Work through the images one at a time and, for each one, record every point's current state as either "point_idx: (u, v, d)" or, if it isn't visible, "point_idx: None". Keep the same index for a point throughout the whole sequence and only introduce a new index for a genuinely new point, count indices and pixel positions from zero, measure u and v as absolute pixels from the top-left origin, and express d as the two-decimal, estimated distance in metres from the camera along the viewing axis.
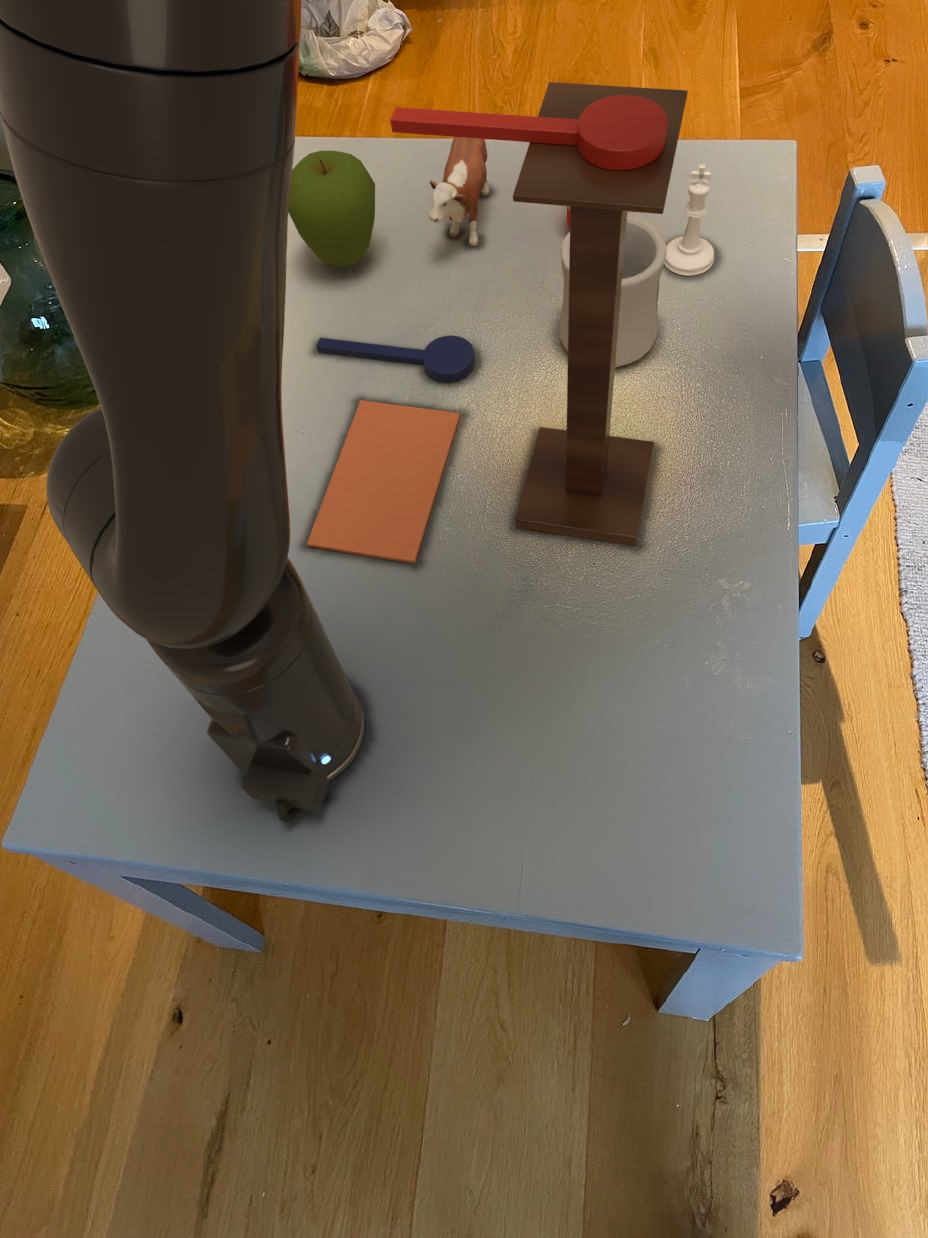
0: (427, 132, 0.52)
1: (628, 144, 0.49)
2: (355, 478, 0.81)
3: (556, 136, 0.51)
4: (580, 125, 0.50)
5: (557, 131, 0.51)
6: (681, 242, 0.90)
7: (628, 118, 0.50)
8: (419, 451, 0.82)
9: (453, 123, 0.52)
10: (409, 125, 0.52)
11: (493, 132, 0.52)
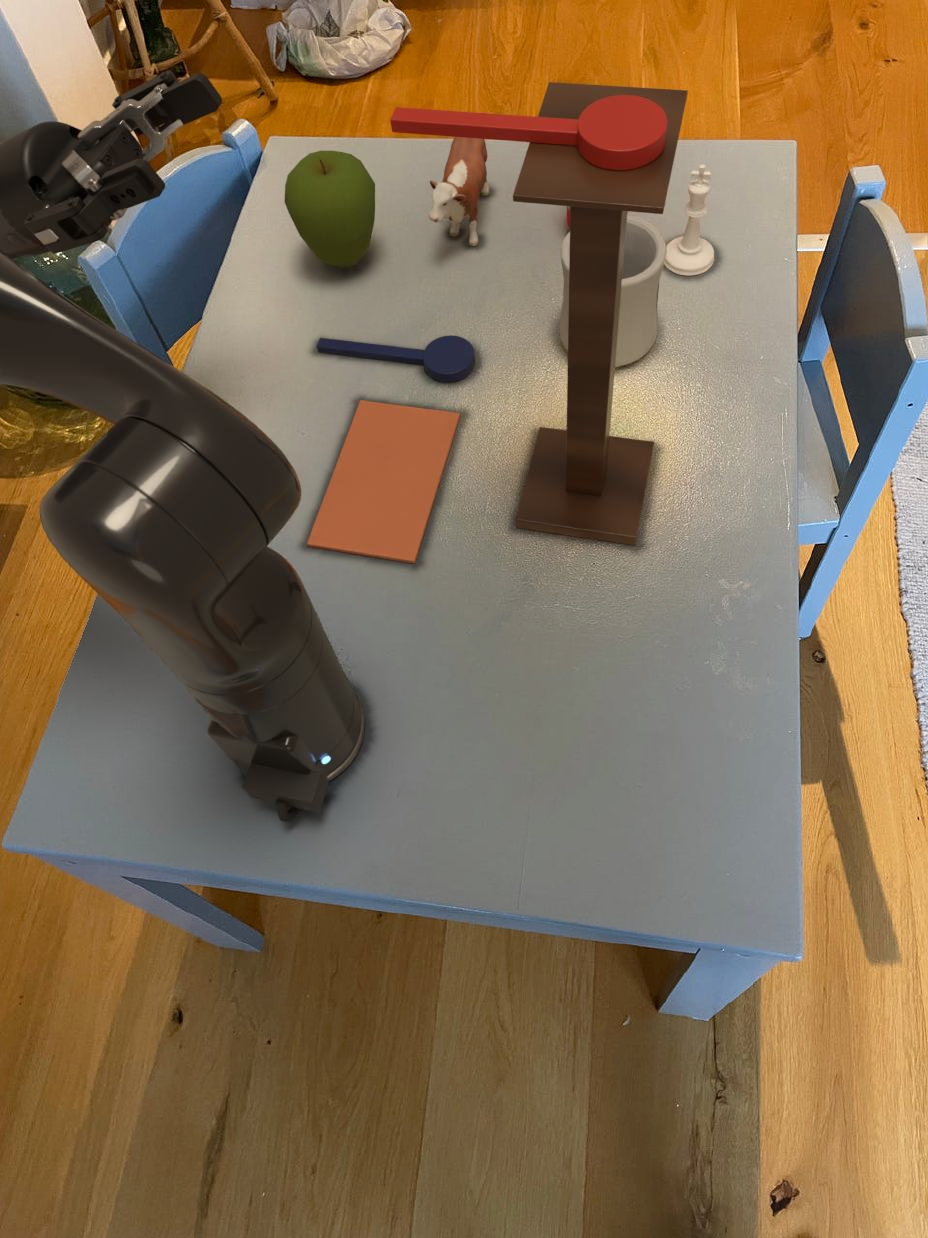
0: (427, 132, 0.52)
1: (628, 144, 0.49)
2: (355, 478, 0.81)
3: (556, 136, 0.51)
4: (580, 125, 0.50)
5: (557, 131, 0.51)
6: (681, 242, 0.90)
7: (628, 118, 0.50)
8: (419, 451, 0.82)
9: (453, 123, 0.52)
10: (409, 125, 0.52)
11: (493, 132, 0.52)
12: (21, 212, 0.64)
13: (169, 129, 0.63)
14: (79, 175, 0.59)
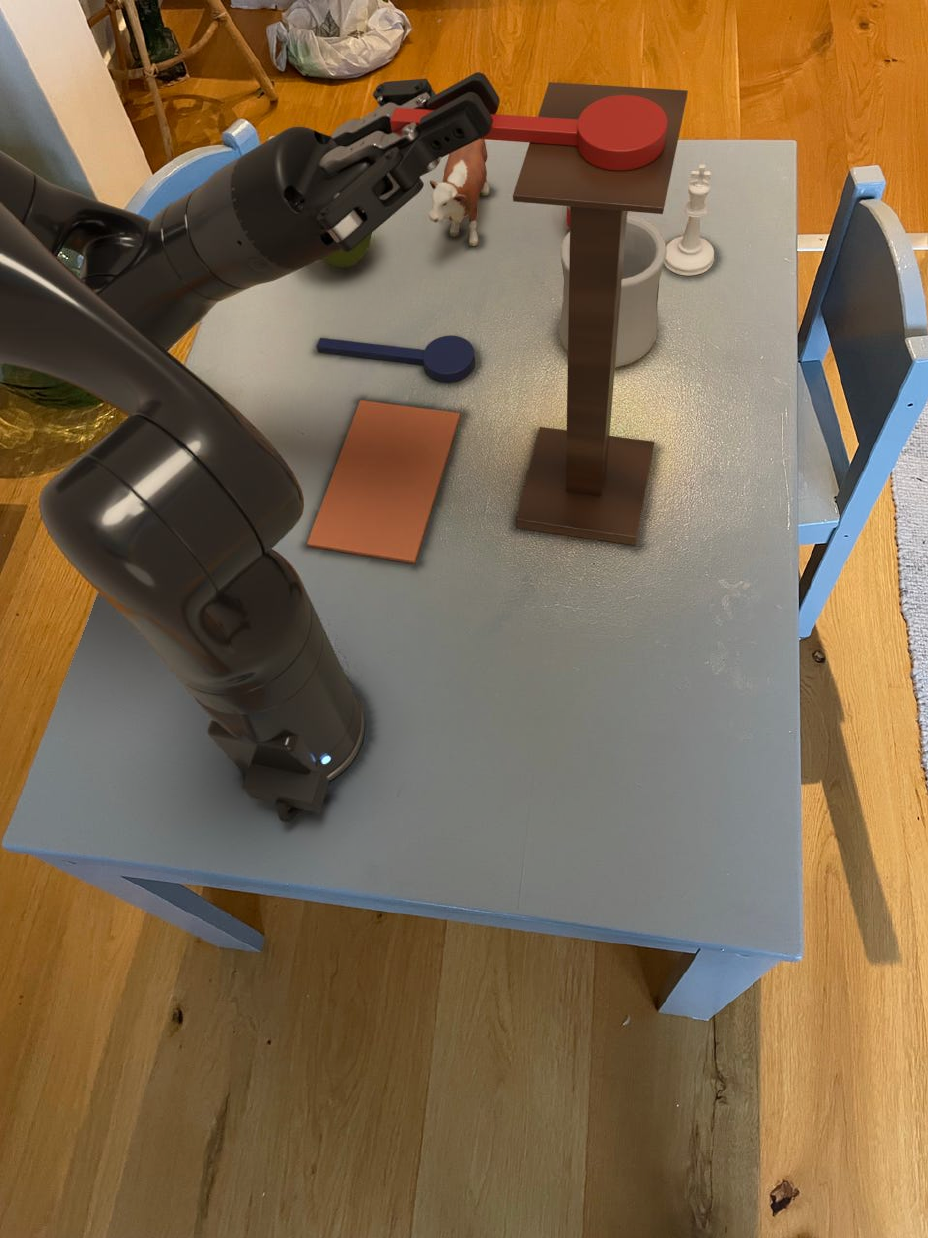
0: None
1: (628, 144, 0.49)
2: (355, 478, 0.81)
3: (556, 136, 0.51)
4: (580, 126, 0.50)
5: (557, 131, 0.51)
6: (681, 242, 0.90)
7: (628, 118, 0.50)
8: (419, 451, 0.82)
9: None
10: None
11: (493, 132, 0.52)
12: (271, 230, 0.57)
13: None
14: (378, 141, 0.53)
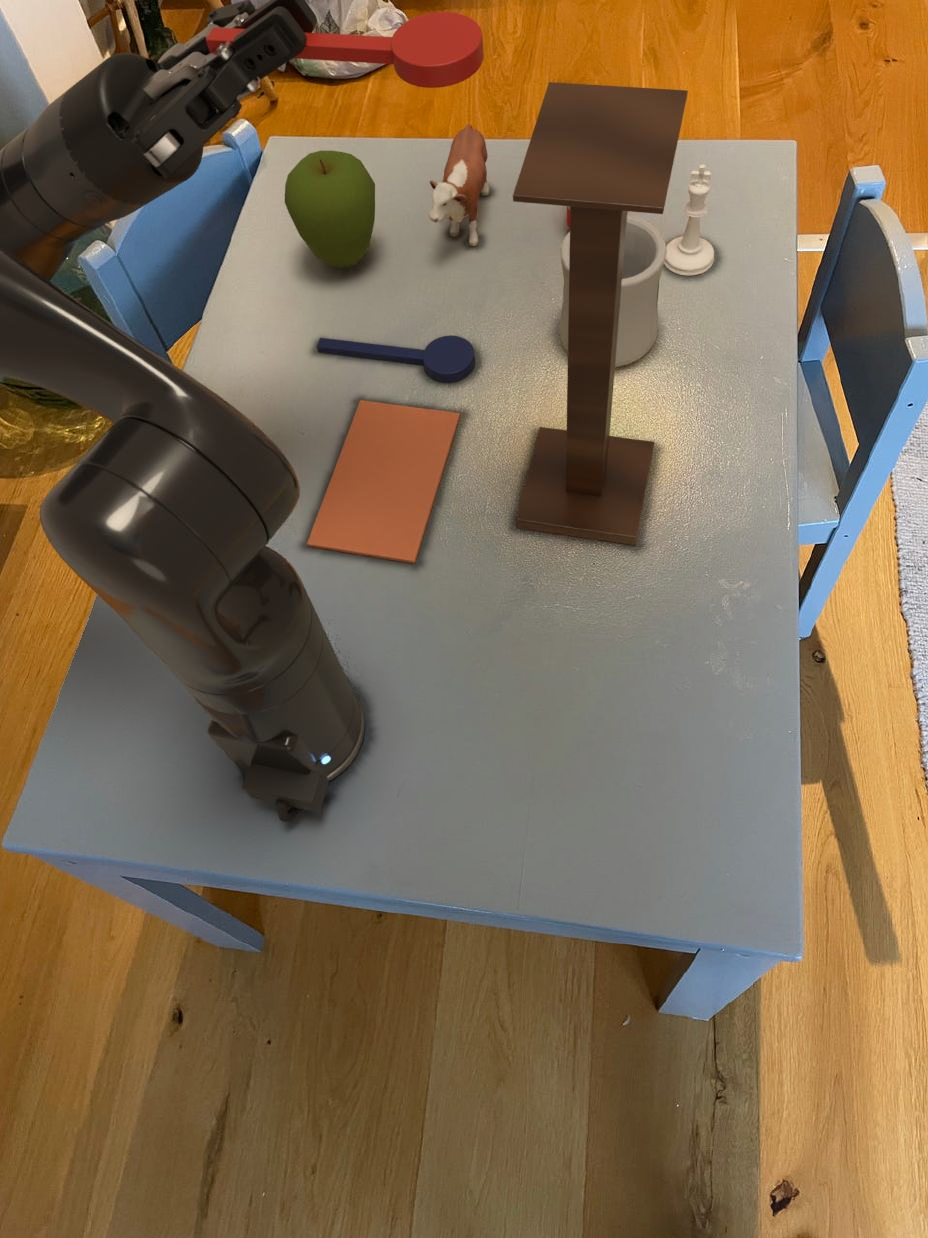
0: None
1: (438, 59, 0.47)
2: (355, 478, 0.81)
3: (371, 54, 0.49)
4: (393, 41, 0.48)
5: (372, 48, 0.49)
6: (681, 242, 0.90)
7: (442, 34, 0.48)
8: (419, 451, 0.82)
9: None
10: None
11: (309, 51, 0.50)
12: (100, 159, 0.56)
13: None
14: (194, 62, 0.51)
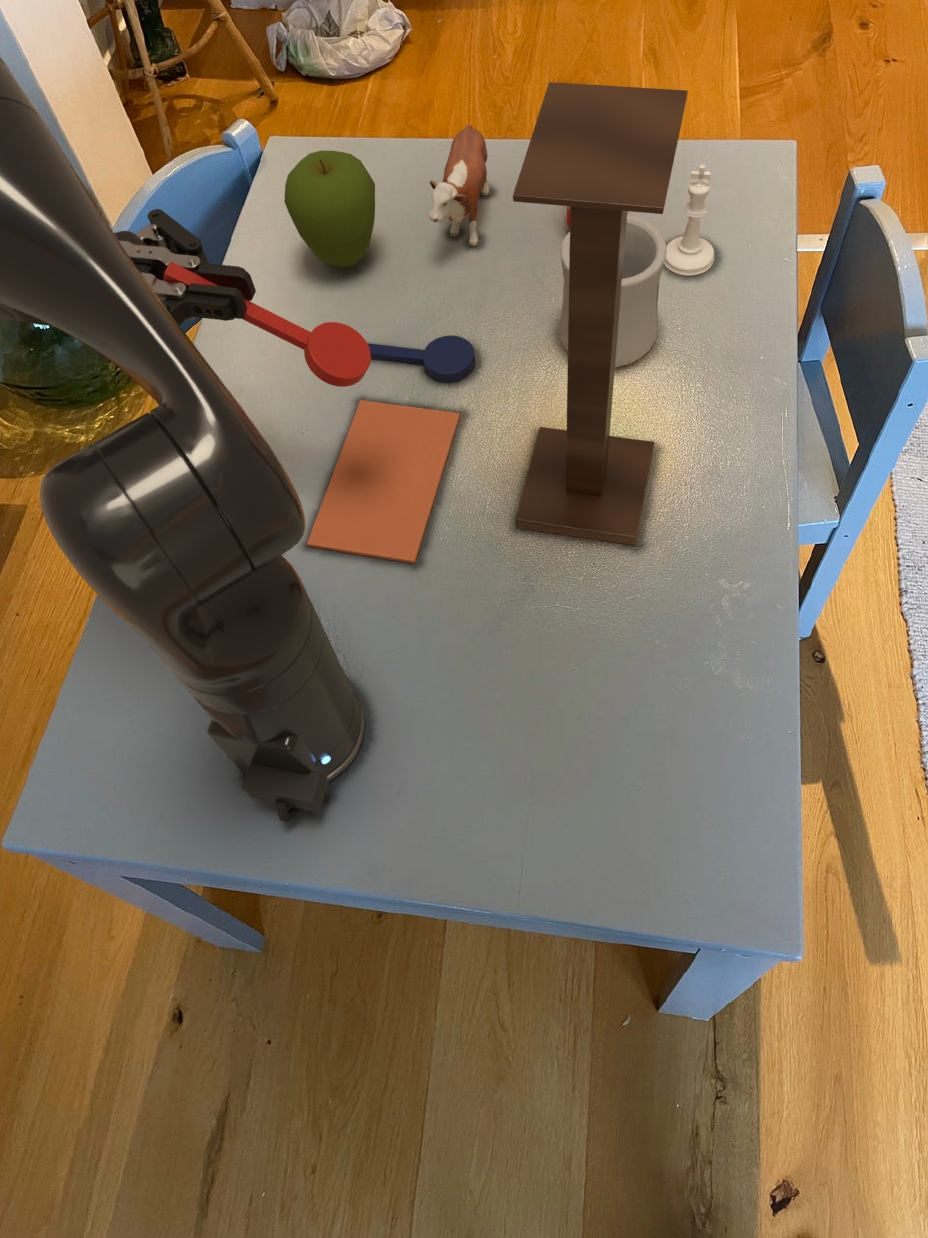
0: None
1: (340, 372, 0.67)
2: (355, 478, 0.81)
3: (290, 338, 0.67)
4: (310, 341, 0.67)
5: (292, 336, 0.67)
6: (681, 242, 0.90)
7: (344, 348, 0.68)
8: (419, 451, 0.82)
9: None
10: (179, 282, 0.65)
11: (244, 316, 0.66)
12: None
13: None
14: (150, 285, 0.65)
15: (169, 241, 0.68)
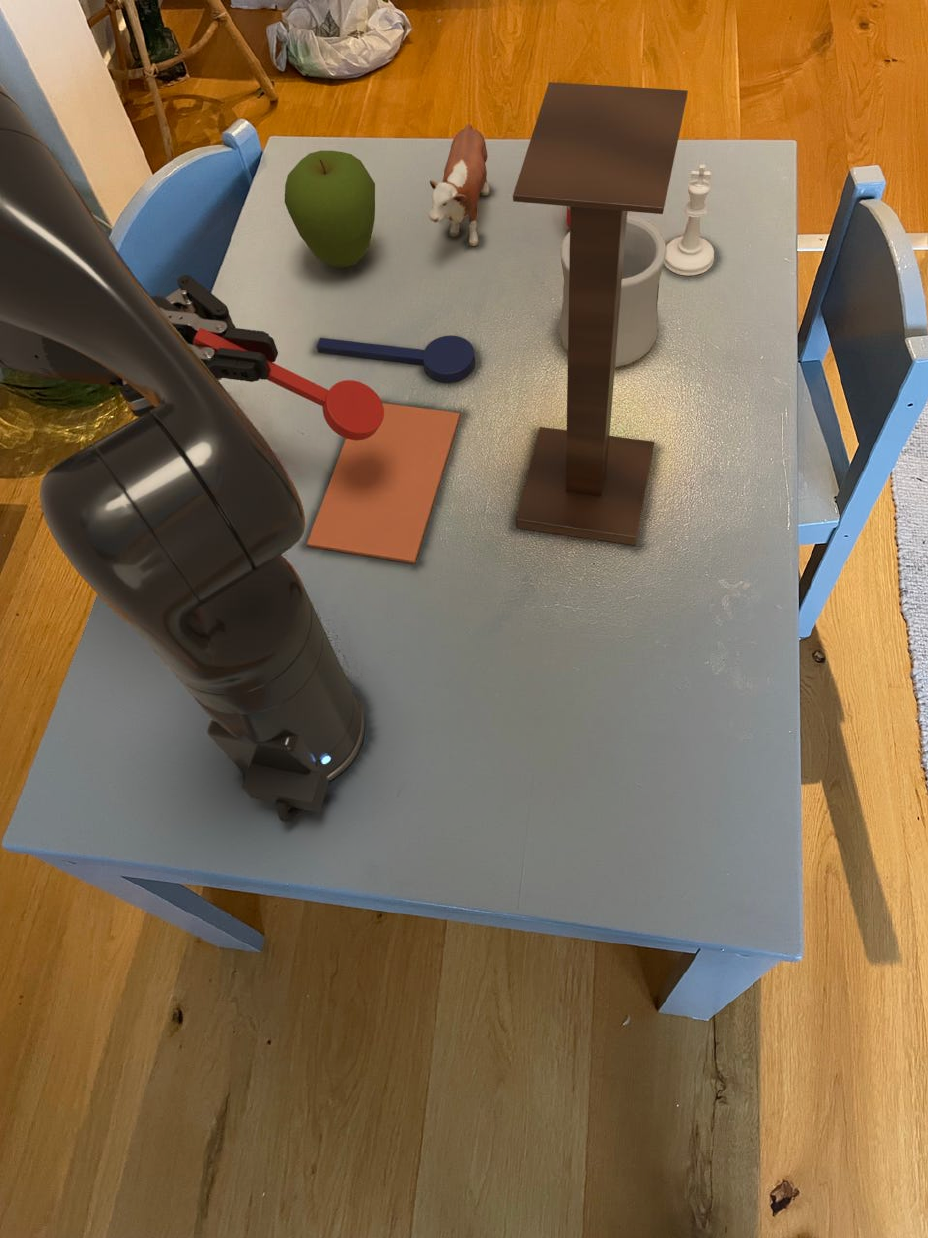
0: None
1: (356, 427, 0.73)
2: (355, 478, 0.81)
3: (310, 396, 0.73)
4: (328, 399, 0.73)
5: (312, 395, 0.73)
6: (681, 242, 0.90)
7: (360, 404, 0.74)
8: (419, 451, 0.82)
9: None
10: None
11: None
12: (71, 363, 0.71)
13: None
14: None
15: (197, 305, 0.74)
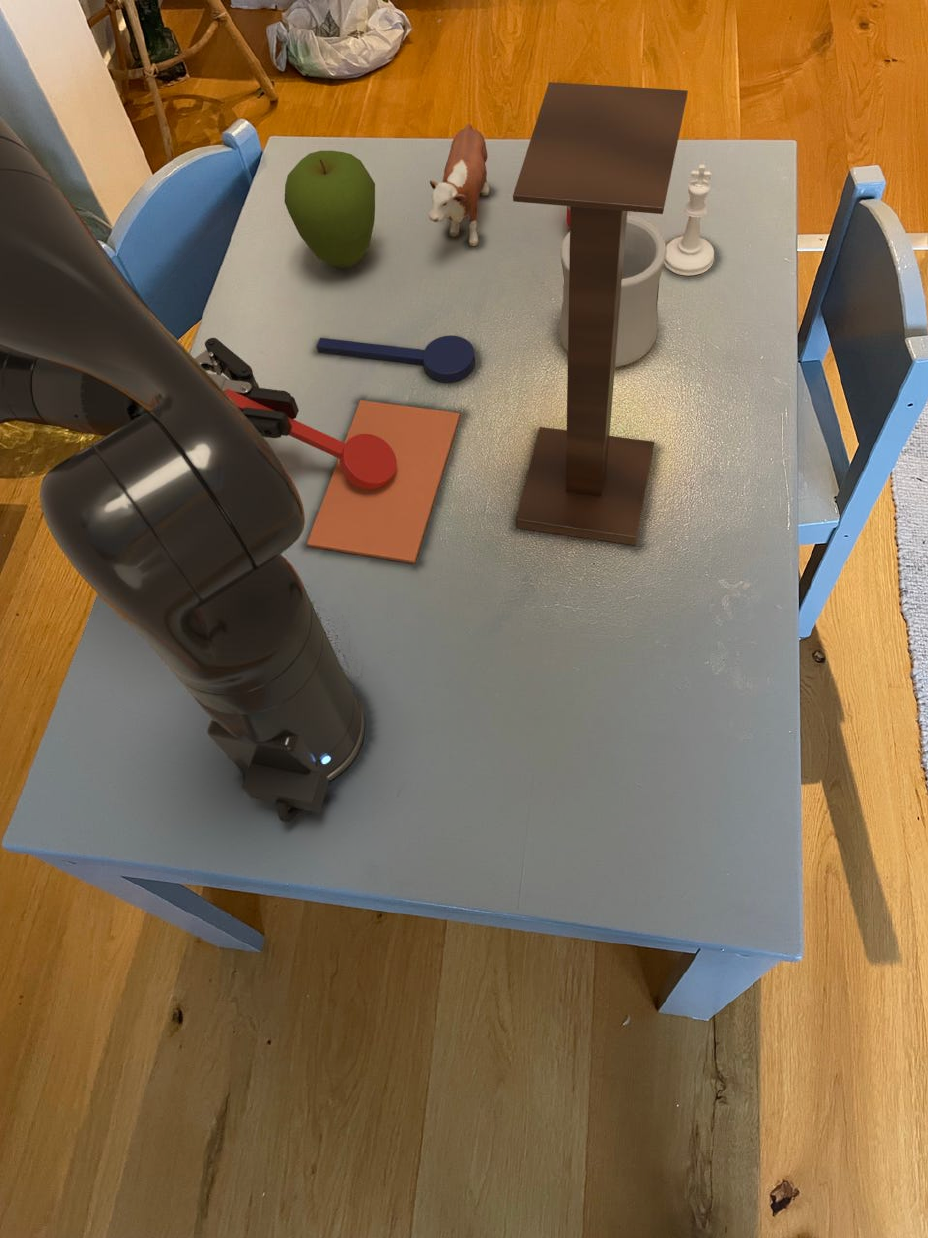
0: None
1: (370, 478, 0.79)
2: None
3: (328, 450, 0.79)
4: (345, 452, 0.78)
5: (330, 448, 0.79)
6: (681, 242, 0.90)
7: (374, 456, 0.80)
8: (419, 451, 0.82)
9: None
10: None
11: None
12: (108, 422, 0.77)
13: None
14: None
15: (223, 366, 0.80)
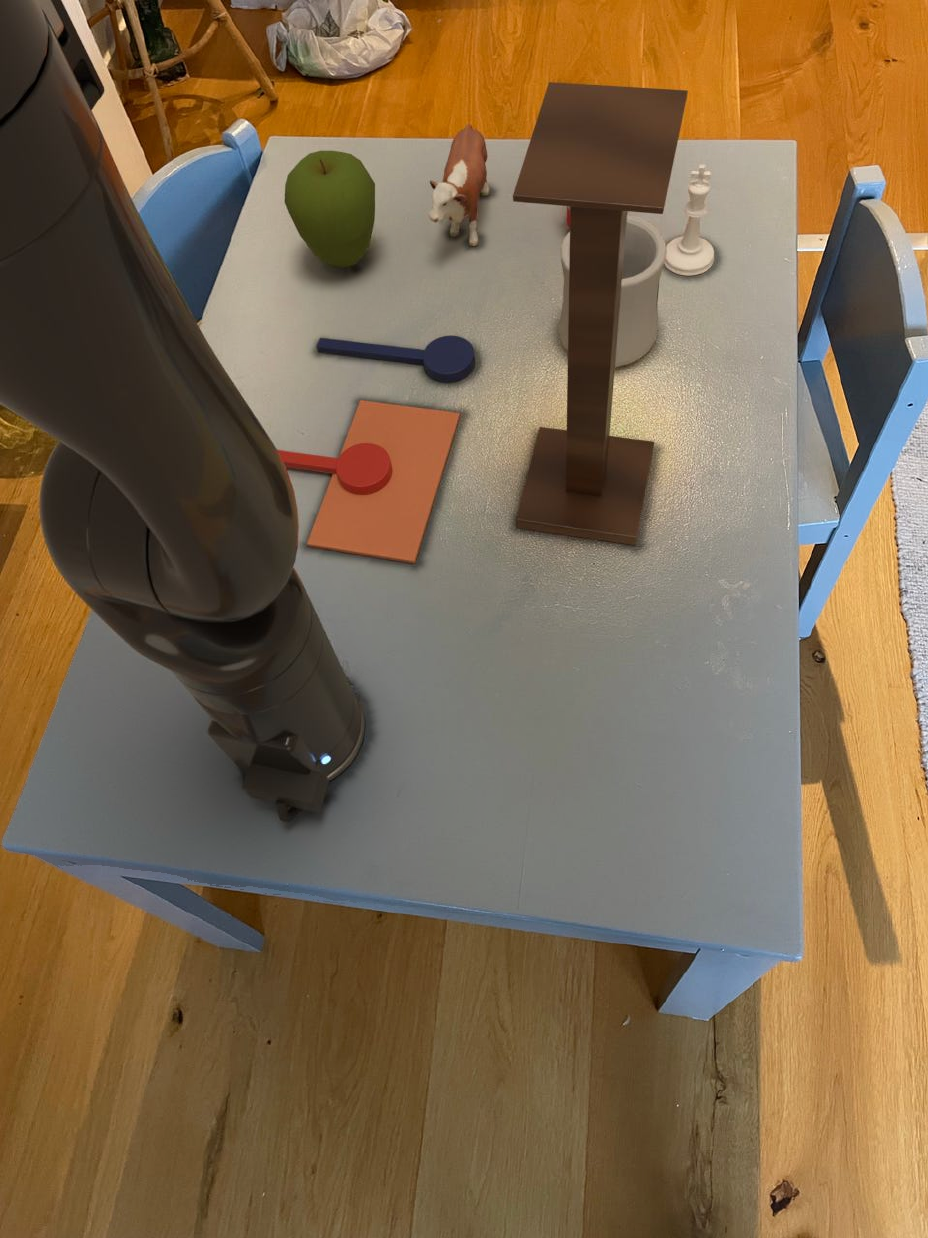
0: None
1: (363, 482, 0.79)
2: None
3: (324, 469, 0.81)
4: (337, 466, 0.81)
5: (325, 467, 0.81)
6: (681, 242, 0.90)
7: (367, 461, 0.80)
8: (419, 451, 0.82)
9: None
10: None
11: (287, 464, 0.82)
12: None
13: None
14: None
15: None
